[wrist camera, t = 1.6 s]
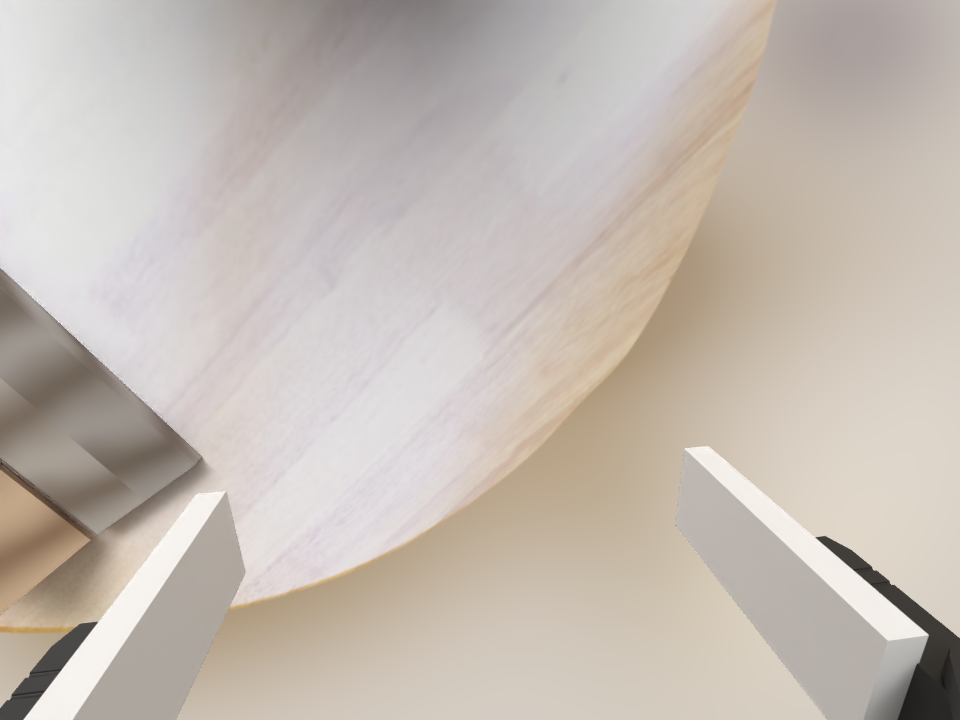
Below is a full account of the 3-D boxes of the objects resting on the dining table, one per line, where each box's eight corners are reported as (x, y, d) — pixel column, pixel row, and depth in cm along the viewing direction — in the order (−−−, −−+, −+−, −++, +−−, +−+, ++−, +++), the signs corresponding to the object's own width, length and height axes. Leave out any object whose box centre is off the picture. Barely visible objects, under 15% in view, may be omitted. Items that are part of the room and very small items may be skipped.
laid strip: (-153, 311, 33) (-179, 316, 31) (-46, 225, 32) (-68, 226, 30) (109, 522, 40) (97, 534, 38) (201, 456, 39) (193, 466, 37)
